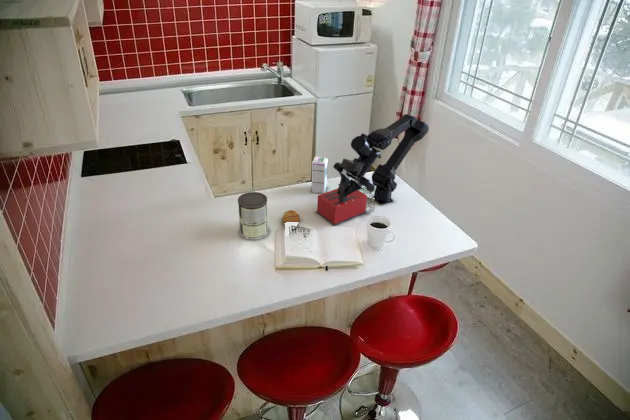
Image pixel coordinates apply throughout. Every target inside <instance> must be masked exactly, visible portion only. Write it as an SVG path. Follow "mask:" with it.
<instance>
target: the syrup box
mask: <svg viewBox="0 0 630 420" xmlns="http://www.w3.org/2000/svg"><path fill="white" fill-rule="evenodd" d="M328 159H329V158H328V157H326V156H314V158H313V160H312V162H311V193H316V194H323V193H326V190H327V187H328V164H329V163H328V161H329V160H328Z"/></svg>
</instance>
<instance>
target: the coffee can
mask: <svg viewBox="0 0 630 420" xmlns="http://www.w3.org/2000/svg"><path fill="white" fill-rule="evenodd" d="M237 205H238V216H239V217H238V218H239V230H240V231H239V232H240V235H241V237H243V238H244V239H246V240H252V241H254V240H256V241H257V240H260V239H262V238H265V237H266V236H267V235H268V234H269V230H268V229H269V225H268V224H269V223H268V197H267V195H266V194H264V193H263V192H262V193H261V192H257V191H250V192H248V191H247V192H244V193H243V194H240V195H239V196H238V197H237Z"/></svg>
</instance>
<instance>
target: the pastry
mask: <svg viewBox="0 0 630 420" xmlns="http://www.w3.org/2000/svg"><path fill="white" fill-rule="evenodd" d="M300 217H301V216H300V214H299V213H298V212H297V211H296V210H294V209H290V210H287V211H285V212H284V213H283V214H282V217H281V221H282V224H284V223H286V222H299V223H301V219H300Z"/></svg>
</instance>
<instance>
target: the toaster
mask: <svg viewBox="0 0 630 420" xmlns="http://www.w3.org/2000/svg"><path fill="white" fill-rule="evenodd" d="M338 188H339V187H338ZM338 188H335V189H332V190H330V191H329V190H328V191H327V192H326V191H325V193H319V194H318V195H317V203H316V204H317V205H316V213H317V215H319V216H320V217H322V218H323V219H324V220H326V221H327V222H328V223H329V224H331V225H332V226H334V227H335V226H338V225H340V224H343V223H345V222H347V221H351V220H353V219H355V218H358V217H360V216H363V215H365V214H367V211H365V210H367V201H368V195H367V194H365V193H364V192H363V191H360V189H359V190H357V191H355V192H353V193H351V194H349V195H347V201H346V202H341V201H340V200H339V194H338V193H337V192H338Z"/></svg>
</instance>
